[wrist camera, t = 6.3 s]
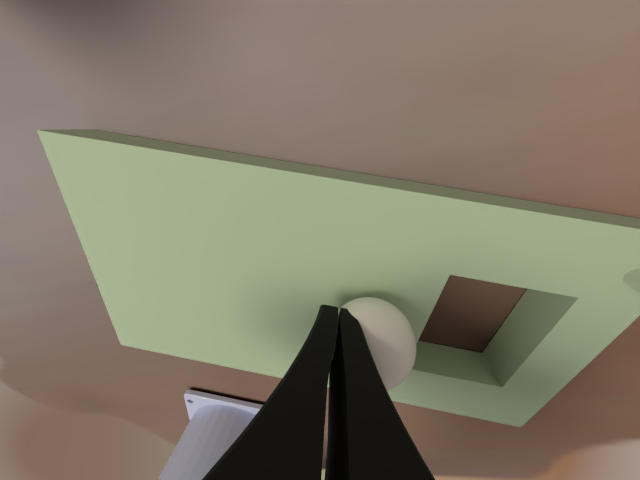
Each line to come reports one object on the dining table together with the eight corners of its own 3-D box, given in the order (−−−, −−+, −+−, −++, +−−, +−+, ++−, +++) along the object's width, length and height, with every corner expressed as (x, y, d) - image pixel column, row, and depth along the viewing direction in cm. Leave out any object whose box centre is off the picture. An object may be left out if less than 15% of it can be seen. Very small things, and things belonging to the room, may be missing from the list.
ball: (391, 419, 9) (308, 388, 9) (387, 338, 11) (324, 315, 11) (447, 384, 7) (340, 345, 7) (425, 297, 10) (349, 268, 9)
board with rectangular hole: (500, 391, 15) (610, 585, 8) (146, 320, 16) (14, 446, 10) (657, 208, 9) (1340, 389, 3) (87, 116, 10) (-336, 101, 4)
